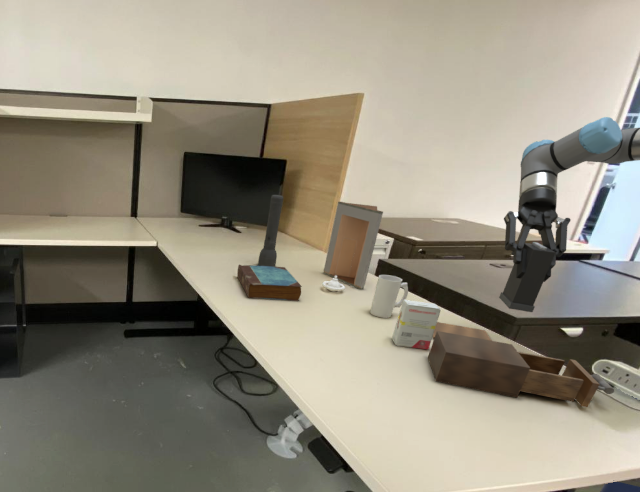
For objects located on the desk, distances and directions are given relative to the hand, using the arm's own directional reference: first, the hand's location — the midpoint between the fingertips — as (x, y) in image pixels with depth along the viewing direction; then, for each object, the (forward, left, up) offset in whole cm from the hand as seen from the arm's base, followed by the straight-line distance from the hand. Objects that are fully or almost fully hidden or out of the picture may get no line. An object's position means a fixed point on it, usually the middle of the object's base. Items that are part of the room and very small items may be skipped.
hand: (533, 276), depth 109 cm
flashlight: (+70, -61, -24) cm, 95 cm away
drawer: (-7, +11, -23) cm, 26 cm away
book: (+65, -31, -24) cm, 75 cm away
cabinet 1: (+37, -60, -24) cm, 74 cm away
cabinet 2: (+9, +11, -23) cm, 27 cm away
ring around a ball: (+43, -42, -24) cm, 64 cm away
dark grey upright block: (0, -4, -8) cm, 9 cm away
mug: (+26, -25, -24) cm, 43 cm away
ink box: (+21, -3, -24) cm, 31 cm away
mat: (+6, -18, -23) cm, 30 cm away
